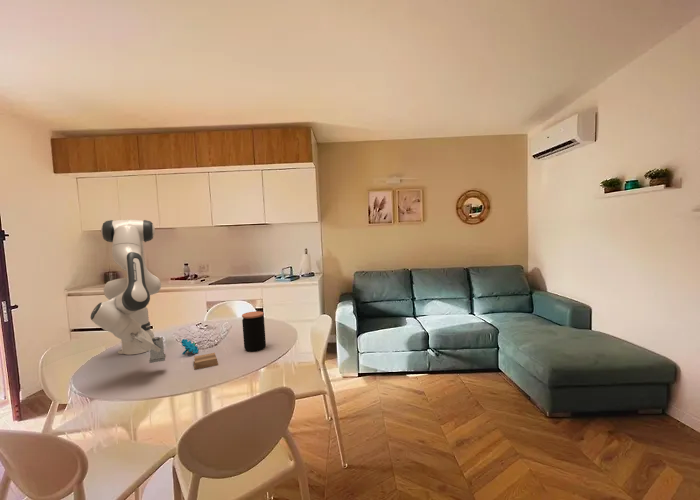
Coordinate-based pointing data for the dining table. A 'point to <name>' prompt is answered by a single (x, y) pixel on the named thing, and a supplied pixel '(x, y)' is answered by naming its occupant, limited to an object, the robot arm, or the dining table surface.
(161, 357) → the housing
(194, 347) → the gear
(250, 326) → the coffee jar
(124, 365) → the dining table surface
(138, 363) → the dining table surface
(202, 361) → the stand
